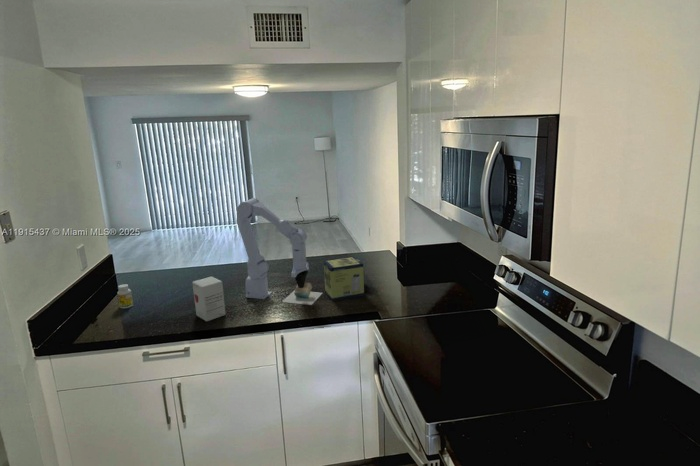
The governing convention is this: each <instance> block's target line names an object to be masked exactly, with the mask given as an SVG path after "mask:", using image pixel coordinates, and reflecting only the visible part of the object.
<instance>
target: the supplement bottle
mask: <svg viewBox="0 0 700 466" xmlns="http://www.w3.org/2000/svg"><path fill="white" fill-rule="evenodd" d="M117 290H118V291H117V292H116V293H117V299H118V305H119V308H120V309H129V308H131V307H133V306H134V301H133V296H132V290H131V289H130V288H129V284H127V283H126V284H125V283H124V284H120V285H117Z"/></svg>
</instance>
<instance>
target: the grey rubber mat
mask: <svg viewBox="0 0 700 466" xmlns="http://www.w3.org/2000/svg"><path fill="white" fill-rule="evenodd" d="M294 292H295V289H294V290H293V291H292V292H291V293H290V294H288V296H287V297H285V298H284V299H283V300H281V303H288V304H289V303H290V304H297V305H309V306H312V305H313V304H314V303H315V302H316V301H317V299H319V298H320V297H321V296H322V294H323V292H319V291H317V292H316V291H311V292H310V295H309V298H301V297H296V296H295V294H294Z"/></svg>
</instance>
